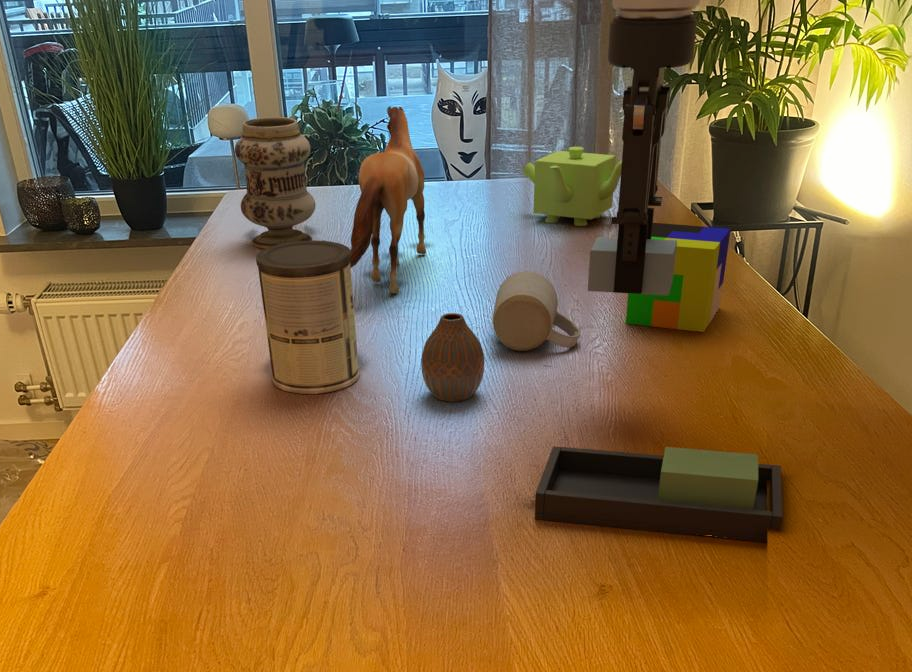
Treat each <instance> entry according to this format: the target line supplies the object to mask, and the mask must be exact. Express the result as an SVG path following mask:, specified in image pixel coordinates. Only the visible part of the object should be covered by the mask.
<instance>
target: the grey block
mask: <svg viewBox="0 0 912 672" xmlns="http://www.w3.org/2000/svg"><path fill="white" fill-rule="evenodd" d="M617 240H618V237H611V236H597V237H596V239H595V241H594V243H593V245H592V246H591V248H590V251H589V260H588V261H589V263H588V276H587V278H588V279H587V291H588V292H597V293H614V279H615V266H616V253H617ZM676 247H677V240H657V239H647V241H646V252H645V263H644V274H643V285H642V293H641V294H648V295H665V296H668V295H669V292H670V288H671V285H672V281H673V274H674V265H675V256H676ZM631 294H633V293H631Z"/></svg>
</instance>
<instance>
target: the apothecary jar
mask: <svg viewBox="0 0 912 672" xmlns="http://www.w3.org/2000/svg"><path fill="white" fill-rule="evenodd" d="M310 153H311V144H310V142H309V140H308V139H307V138H306V136H304V135H303V134H302V133H301V131H300V129H299V123H298V120H296V119H295V118H292V117H283V116H263V117H255V118H251V119H247V120H245V121H243V122H242V133H241V137H240V138H239V139H238V140H237V142H236V143H235V146H234V154H235V157H236V158H237V160H238V161H239V162H241V163H242V164H243V167H244V171H245V182H246V193H245V195H244V196H243V197H242V199H241V201H240V211H241V214H242V215H243V217H245V218H246V219H247V220H248V221H249V222H250V223H252V224H254V225H256V226H260V227H264V228H266V229H267V230H265V231H263V232H261V233H260V234H258V235H256V236H255V237H253V239H252V241H251V244H252V246H253V247H255V248H257V249H262V250H264V249H266V248H268V247H271V246H275V245H278V244H282V243H289V242H296V241H313V238H312V236H311V235H309V234H308V233H305V232H303V231H302V230H299V229H295V228H294V226H297V225H299V224H300V225H301V224H302V223H304V222H306V221H308V219H310V218H311V217H312V216H313V214H314V213H315V211H316V206H317V205H316V199H315V198H314V196H313V195H312V194H311V192H309V191H308V189H307V181H306V169H305V167H306V166H305V161H306V160H307V159H308V158H309V156H310Z"/></svg>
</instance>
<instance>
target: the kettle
mask: <svg viewBox="0 0 912 672" xmlns="http://www.w3.org/2000/svg"><path fill="white" fill-rule="evenodd" d="M584 151H585V148H584V147H582V146H571V147H568V150H567V151H565V150H557V151H555V152H552V153H551V154H547V155H545V156H543V157H541V158H539V159H537V160H534V164H533V163H532V162H531V161H530V162H528V163H527V164H526V165H525V166H524V167H523V169H522V171H521V173H522V174H523V175H524V176H525V177H526V178H528V179H529V181H531V182H532V184H533V210H532V211H533V212H532V213H533V214H539V215H546V218H545V220H544V222H545V223H551V224H553V223H557V222H558V221H559V219H560V217H563V218H564V217H566V218H573V225H574V226H576V227H584V226H588V221H587V220H593V219H599V218H601V214H603V213H605V212H606V211H609V210H610V209H612V208H613V201H614V193H615V191H616V190H617V188H618V185H619V183H620V180H621V167H622V160H620V161H618V162H617V161H616V160H617V156H616V155H614V154H603V153H590V152H584ZM616 162H617V163H616Z"/></svg>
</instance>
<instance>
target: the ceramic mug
mask: <svg viewBox="0 0 912 672" xmlns="http://www.w3.org/2000/svg"><path fill="white" fill-rule="evenodd" d="M558 301H559V300H558V294H557V291H556V289H555V287H554V285H553V284H552V283H551V281H550V280H549V279H548V278H547V277H545V276H544V275H542V274H540V273H538V272H536V271H531V270H522V271H517V272H514V273H513V274H510V275H509V276H508V277H506V278H505V279H504V280H503V282H502V283H501V285H500V286H499V288H498V290H497V292H496V298H495V301H494V307H493V312H492V325H493V330H494V333H495V335H496V337H497V339H498V340H499V341H500V342H501V344H503V345H504V346H505V347H507V348H508V349H510V350H513V351H519V352H528V351H532V350H534V349H536V348H538V347H539V346H541V345H542V344H543V343H544V342H545V341H547V342H550V343H551V344H554V345H556V346H558V347H562V348H573V347H574V346H576V344H577V342H578V340H579V339H580V337H581V330H580V328H579V327H578V326H577V325H576V323H574V321H572V320H571V319H569V318H568V317H567V316H565V315H564V314H562V313H560V312H558V306H559V302H558ZM553 326H555V327H557V328H559V329H560V330H562V331H563V332H564V333H563V332H560V331H557V330H556V329H553ZM565 333H566V334H565Z"/></svg>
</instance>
